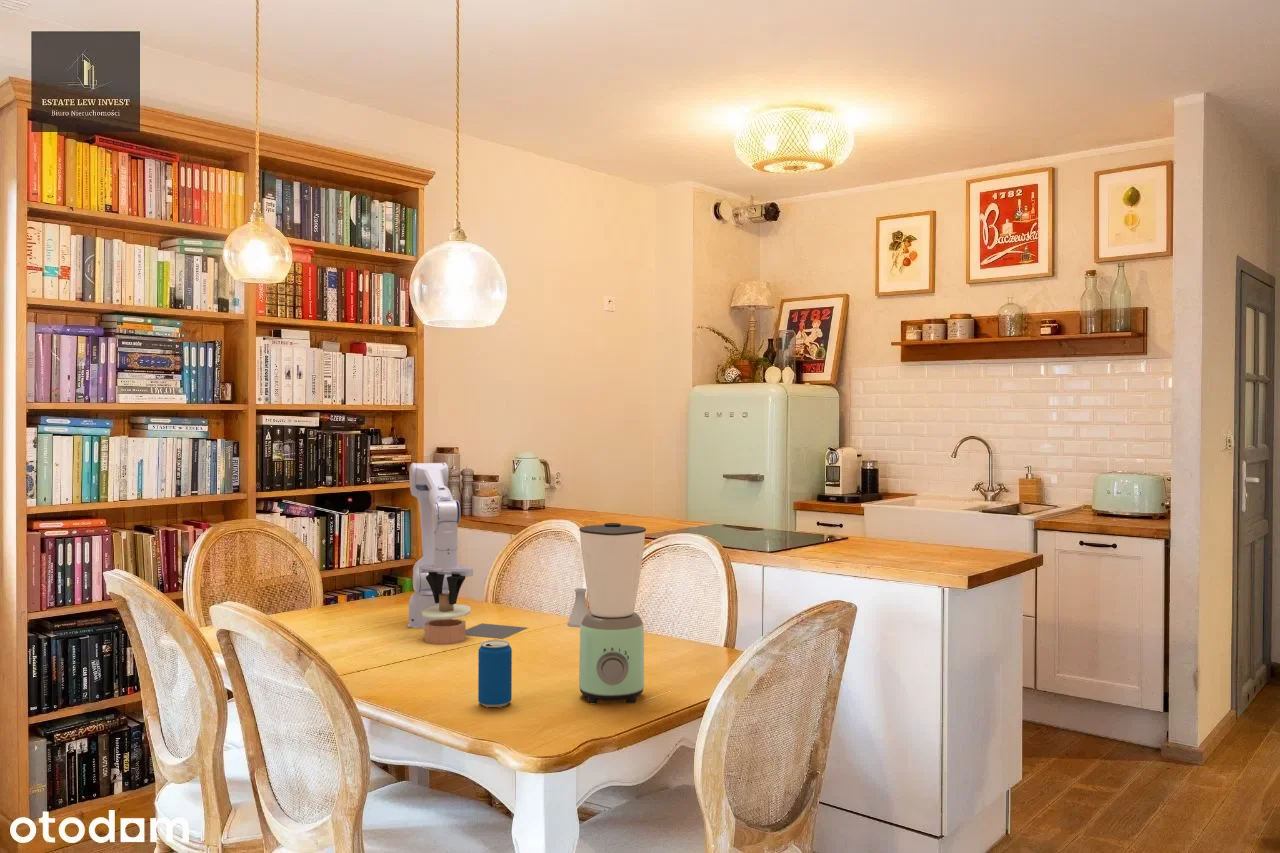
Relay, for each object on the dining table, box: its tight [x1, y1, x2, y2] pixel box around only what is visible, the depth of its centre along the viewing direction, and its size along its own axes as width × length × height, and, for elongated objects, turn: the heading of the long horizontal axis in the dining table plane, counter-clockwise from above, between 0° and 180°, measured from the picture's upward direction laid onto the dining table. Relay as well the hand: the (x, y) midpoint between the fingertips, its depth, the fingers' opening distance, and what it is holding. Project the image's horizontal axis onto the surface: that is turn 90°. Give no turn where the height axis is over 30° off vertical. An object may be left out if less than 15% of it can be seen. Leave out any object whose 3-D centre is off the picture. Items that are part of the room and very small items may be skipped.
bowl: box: [424, 618, 467, 645], centre depth 249 cm, size 10×10×4 cm
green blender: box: [578, 522, 647, 704], centre depth 202 cm, size 19×13×35 cm
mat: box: [466, 623, 528, 640], centre depth 259 cm, size 14×14×1 cm
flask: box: [567, 587, 590, 628], centre depth 268 cm, size 7×7×10 cm
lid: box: [422, 592, 472, 619], centre depth 249 cm, size 12×12×5 cm
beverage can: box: [477, 639, 513, 708], centre depth 195 cm, size 6×6×12 cm
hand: (445, 603), depth 249 cm, fingers closed on lid, 4 cm apart
